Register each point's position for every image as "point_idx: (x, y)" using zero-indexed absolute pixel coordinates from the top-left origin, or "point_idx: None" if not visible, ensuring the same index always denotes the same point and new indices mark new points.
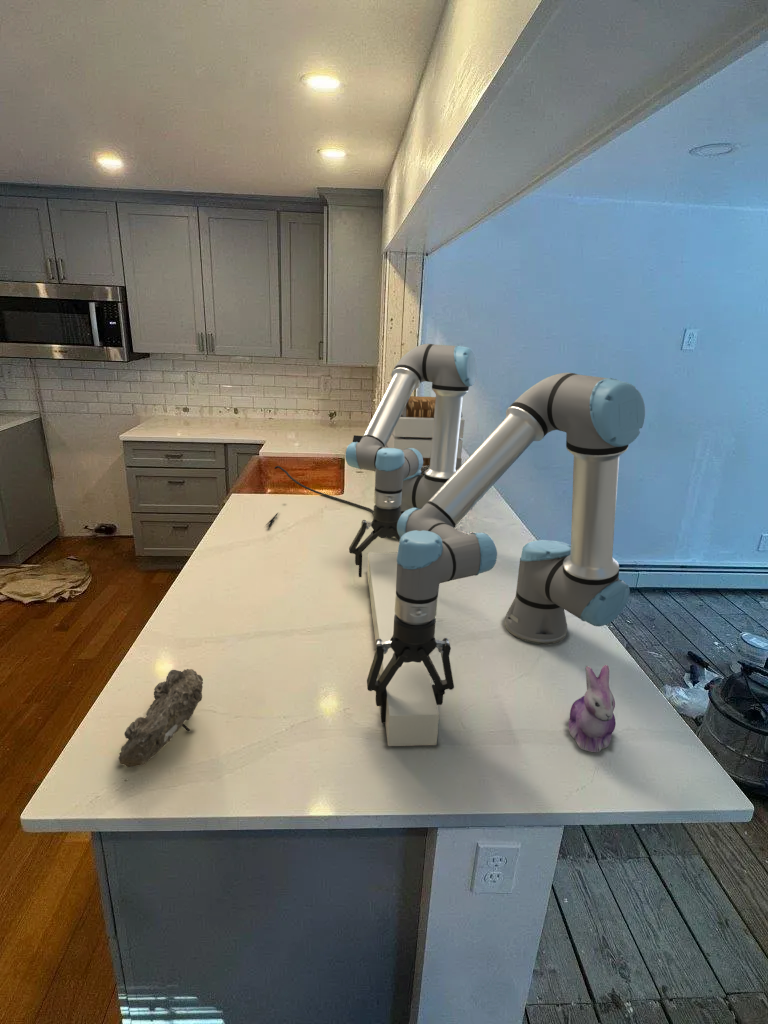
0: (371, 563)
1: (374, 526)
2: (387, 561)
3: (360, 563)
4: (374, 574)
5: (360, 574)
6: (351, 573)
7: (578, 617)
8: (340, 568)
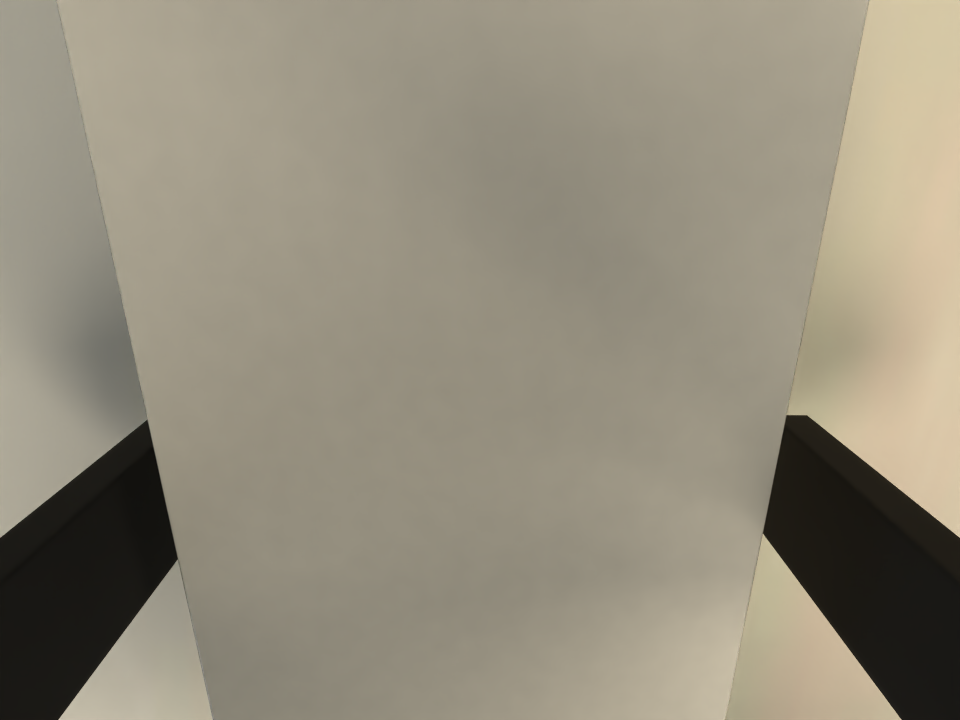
0: (724, 557)
1: None
2: (423, 629)
3: (941, 541)
4: (779, 43)
5: (808, 433)
6: (764, 611)
7: None
8: (843, 690)
